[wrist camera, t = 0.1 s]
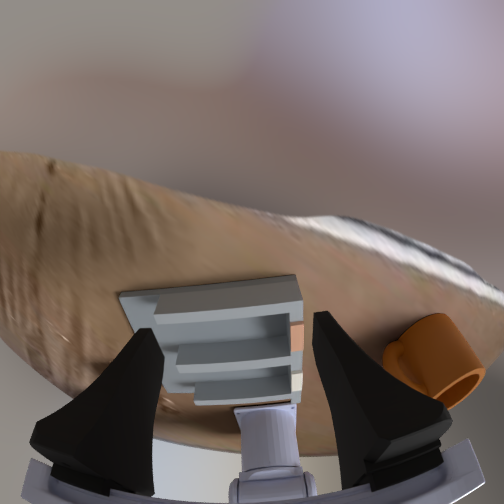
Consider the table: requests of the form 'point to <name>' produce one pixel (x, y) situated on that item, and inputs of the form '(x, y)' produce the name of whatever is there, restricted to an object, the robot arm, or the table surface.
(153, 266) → the table surface
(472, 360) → the mug
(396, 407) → the robot arm
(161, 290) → the socket board
